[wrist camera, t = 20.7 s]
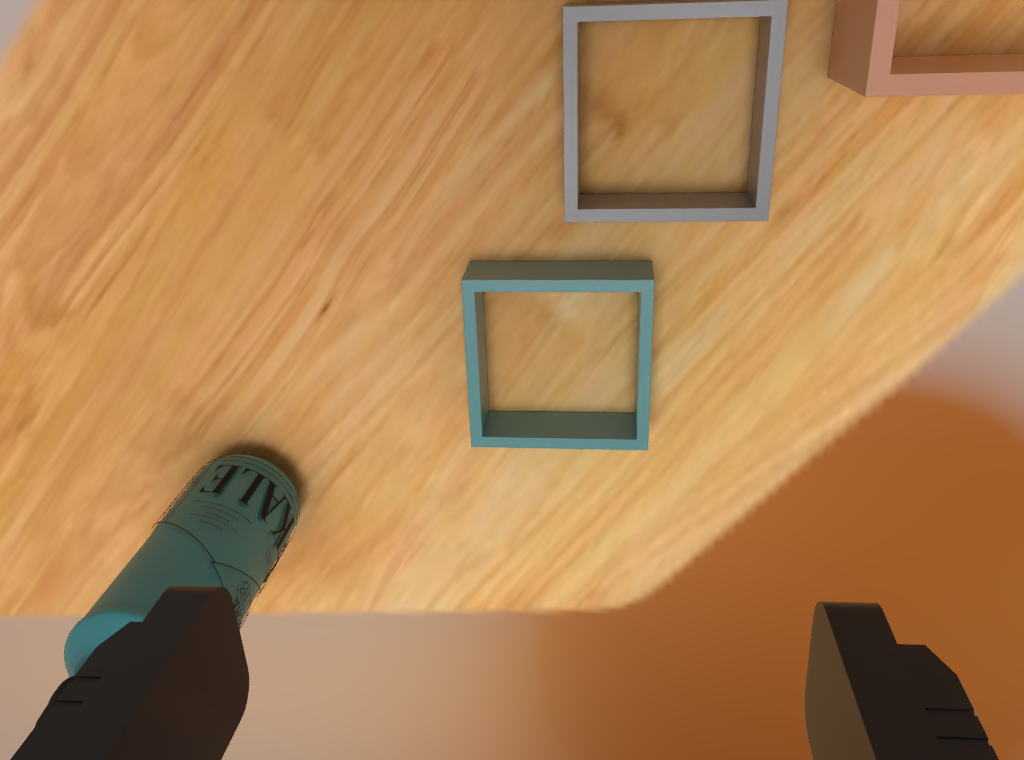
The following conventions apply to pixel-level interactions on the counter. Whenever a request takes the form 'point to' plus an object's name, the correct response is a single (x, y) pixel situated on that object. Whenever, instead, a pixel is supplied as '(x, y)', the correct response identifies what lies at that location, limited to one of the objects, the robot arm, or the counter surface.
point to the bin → (908, 59)
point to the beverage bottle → (198, 550)
